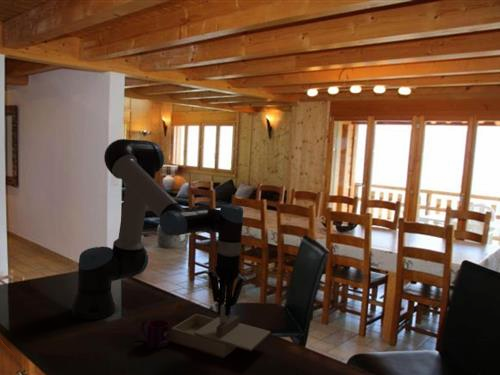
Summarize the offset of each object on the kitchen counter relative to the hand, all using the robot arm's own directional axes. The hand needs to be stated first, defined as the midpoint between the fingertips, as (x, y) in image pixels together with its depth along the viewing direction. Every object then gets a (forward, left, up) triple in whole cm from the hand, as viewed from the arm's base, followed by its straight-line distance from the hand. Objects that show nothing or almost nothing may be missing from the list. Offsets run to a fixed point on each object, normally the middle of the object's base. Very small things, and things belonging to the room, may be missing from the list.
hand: (223, 324), depth 141 cm
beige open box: (-5, 0, -7) cm, 9 cm away
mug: (-19, -11, -7) cm, 23 cm away
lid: (+4, 0, -2) cm, 4 cm away
